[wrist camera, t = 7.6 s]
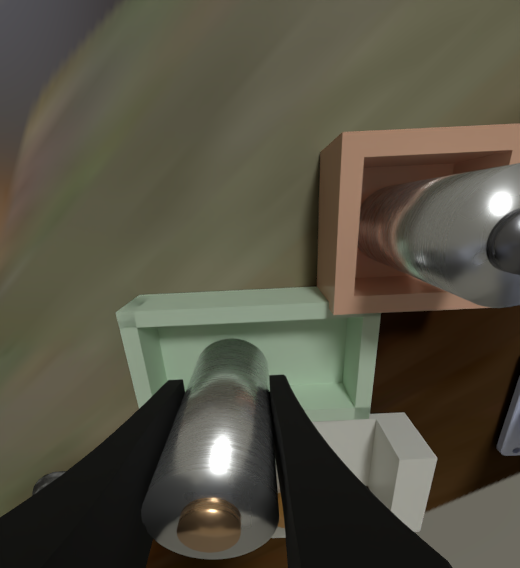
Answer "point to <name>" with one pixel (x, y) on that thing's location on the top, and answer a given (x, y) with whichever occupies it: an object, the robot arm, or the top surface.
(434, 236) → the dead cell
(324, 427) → the cradle
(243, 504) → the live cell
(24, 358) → the top surface
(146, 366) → the trough
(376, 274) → the cup
